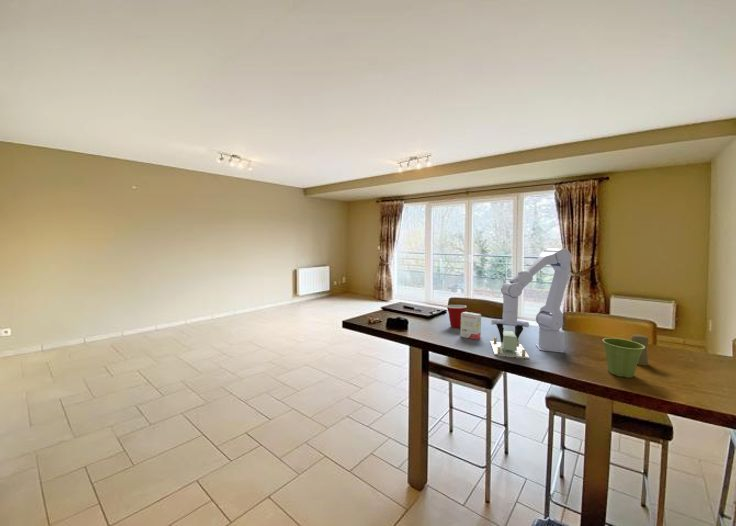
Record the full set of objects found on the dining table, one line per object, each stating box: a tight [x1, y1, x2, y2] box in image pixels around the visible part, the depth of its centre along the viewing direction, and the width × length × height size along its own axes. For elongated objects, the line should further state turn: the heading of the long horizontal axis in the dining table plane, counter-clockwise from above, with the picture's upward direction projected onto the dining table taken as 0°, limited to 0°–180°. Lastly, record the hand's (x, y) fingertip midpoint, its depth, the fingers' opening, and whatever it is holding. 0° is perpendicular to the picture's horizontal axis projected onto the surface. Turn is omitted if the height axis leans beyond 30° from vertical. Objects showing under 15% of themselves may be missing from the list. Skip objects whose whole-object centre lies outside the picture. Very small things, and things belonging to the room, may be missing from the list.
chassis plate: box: [489, 336, 530, 360], centre depth 135 cm, size 13×17×3 cm
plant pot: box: [601, 337, 645, 379], centre depth 112 cm, size 12×12×11 cm
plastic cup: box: [446, 304, 467, 329], centre depth 171 cm, size 11×11×12 cm
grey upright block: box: [630, 334, 650, 366], centre depth 123 cm, size 6×6×11 cm
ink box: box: [460, 311, 482, 341], centre depth 153 cm, size 9×5×12 cm, turn 50°
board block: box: [500, 330, 517, 351], centre depth 135 cm, size 5×10×6 cm, turn 164°
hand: (508, 342), depth 135 cm, fingers closed on board block, 5 cm apart
